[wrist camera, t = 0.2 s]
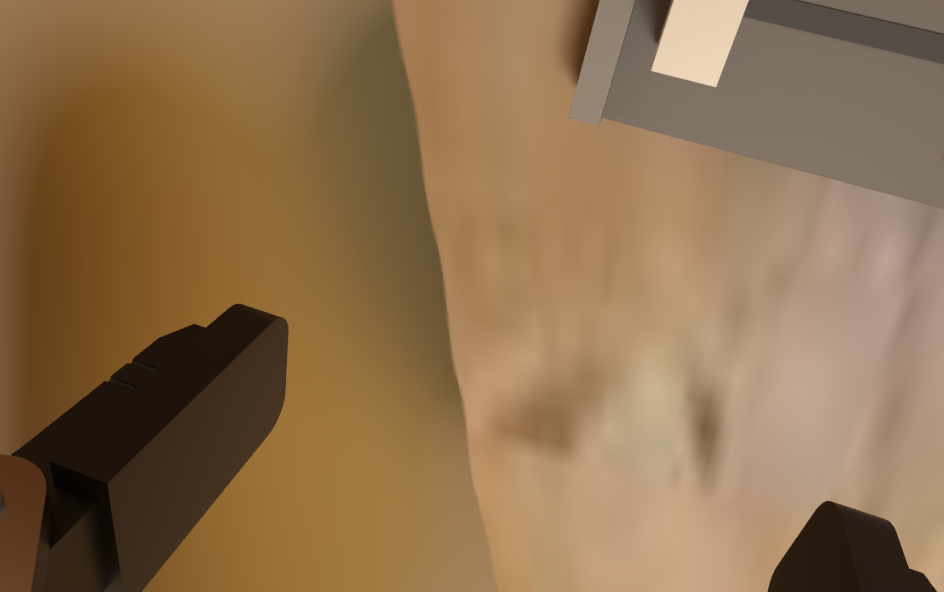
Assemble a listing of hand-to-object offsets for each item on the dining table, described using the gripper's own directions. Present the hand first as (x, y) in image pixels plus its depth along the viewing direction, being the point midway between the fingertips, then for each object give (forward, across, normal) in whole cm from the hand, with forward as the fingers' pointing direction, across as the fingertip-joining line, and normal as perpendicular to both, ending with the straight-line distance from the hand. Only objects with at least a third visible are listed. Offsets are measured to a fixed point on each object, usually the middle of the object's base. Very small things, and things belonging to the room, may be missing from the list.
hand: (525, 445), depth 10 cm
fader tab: (+24, -2, -5) cm, 24 cm away
